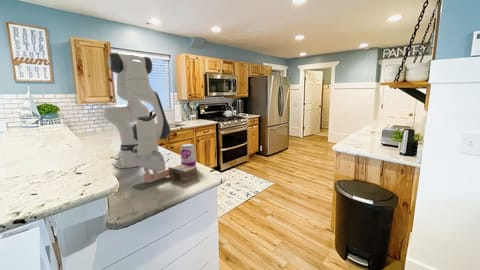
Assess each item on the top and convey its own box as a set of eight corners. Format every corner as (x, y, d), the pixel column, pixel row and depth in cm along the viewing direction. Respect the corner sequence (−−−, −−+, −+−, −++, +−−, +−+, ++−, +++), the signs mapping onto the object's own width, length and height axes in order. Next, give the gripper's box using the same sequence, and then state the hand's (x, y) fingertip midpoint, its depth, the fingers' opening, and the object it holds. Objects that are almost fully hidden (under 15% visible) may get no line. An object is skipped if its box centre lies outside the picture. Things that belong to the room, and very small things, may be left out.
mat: (132, 187, 103) (132, 185, 103) (161, 176, 116) (161, 175, 116) (140, 190, 99) (140, 189, 99) (169, 179, 112) (169, 178, 112)
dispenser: (169, 179, 112) (168, 167, 111) (183, 174, 119) (182, 162, 118) (183, 183, 105) (182, 170, 104) (197, 177, 113) (196, 165, 112)
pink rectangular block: (144, 181, 106) (143, 174, 105) (168, 173, 117) (167, 166, 117) (148, 182, 104) (148, 176, 103) (172, 174, 115) (172, 168, 114)
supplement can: (192, 172, 122) (191, 146, 119) (179, 171, 123) (177, 146, 121) (198, 167, 129) (196, 143, 127) (185, 167, 131) (183, 143, 129)
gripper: (167, 150, 101) (169, 178, 103) (143, 146, 113) (145, 171, 115) (155, 153, 96) (158, 183, 98) (131, 149, 108) (134, 175, 110)
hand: (151, 177), depth 107 cm, fingers closed on pink rectangular block, 4 cm apart
